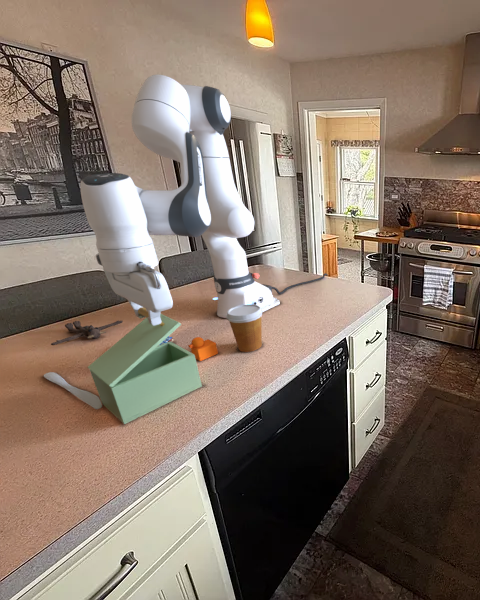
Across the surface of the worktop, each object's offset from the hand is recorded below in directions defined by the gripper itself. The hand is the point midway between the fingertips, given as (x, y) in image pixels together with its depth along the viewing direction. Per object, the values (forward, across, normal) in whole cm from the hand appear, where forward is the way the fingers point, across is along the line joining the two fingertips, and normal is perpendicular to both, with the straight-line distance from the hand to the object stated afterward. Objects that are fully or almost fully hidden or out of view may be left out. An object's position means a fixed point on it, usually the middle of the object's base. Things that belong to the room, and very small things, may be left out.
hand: (148, 320), depth 71 cm
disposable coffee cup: (+18, +2, -23) cm, 29 cm away
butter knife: (+18, +17, +13) cm, 28 cm away
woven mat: (+18, +24, -5) cm, 30 cm away
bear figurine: (+18, +51, +1) cm, 54 cm away
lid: (+5, 0, +3) cm, 6 cm away
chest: (+18, 0, +3) cm, 18 cm away
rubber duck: (+18, +8, -13) cm, 24 cm away
